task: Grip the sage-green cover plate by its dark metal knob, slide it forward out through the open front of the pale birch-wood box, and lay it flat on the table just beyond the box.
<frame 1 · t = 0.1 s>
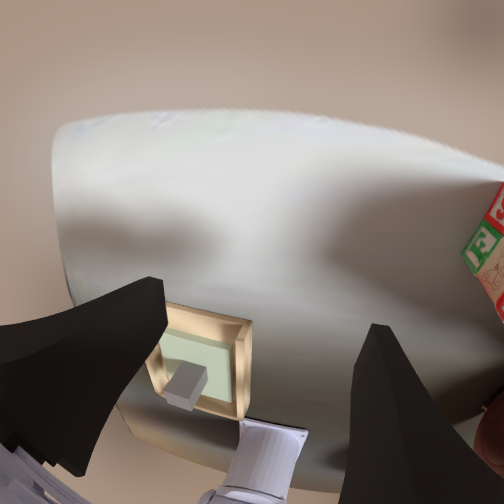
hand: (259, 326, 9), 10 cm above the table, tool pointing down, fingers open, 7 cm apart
cover plate: (198, 364, 26), point 1 cm above the table, touching box
box: (200, 356, 26), on the table
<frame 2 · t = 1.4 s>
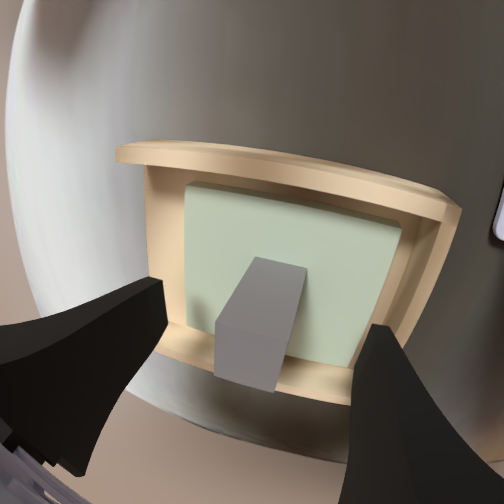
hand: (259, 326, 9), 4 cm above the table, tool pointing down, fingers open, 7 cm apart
cover plate: (280, 278, 12), point 1 cm above the table, touching box
box: (271, 268, 13), on the table
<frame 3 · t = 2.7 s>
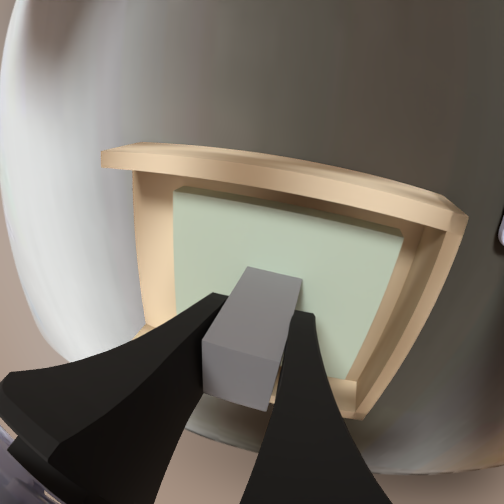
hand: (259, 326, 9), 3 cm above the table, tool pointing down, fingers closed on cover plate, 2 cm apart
cover plate: (274, 288, 11), point 1 cm above the table, touching box, gripper
box: (265, 277, 12), on the table
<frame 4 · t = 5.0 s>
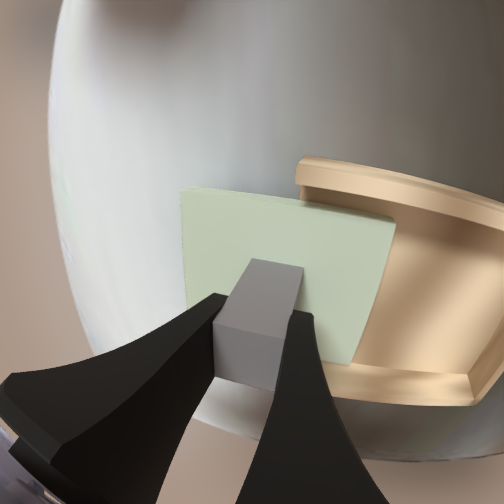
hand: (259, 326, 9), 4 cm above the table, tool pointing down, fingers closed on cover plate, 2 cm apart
cover plate: (278, 278, 12), point 1 cm above the table, touching gripper
box: (417, 292, 11), on the table
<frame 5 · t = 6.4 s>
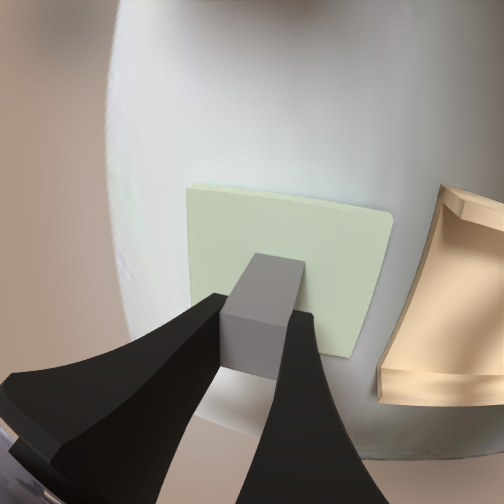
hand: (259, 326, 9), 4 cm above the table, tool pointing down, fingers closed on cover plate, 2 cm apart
cover plate: (280, 273, 13), on the table, touching gripper
box: (502, 307, 10), on the table
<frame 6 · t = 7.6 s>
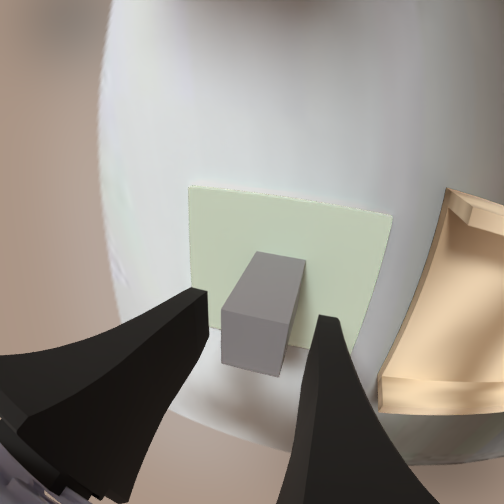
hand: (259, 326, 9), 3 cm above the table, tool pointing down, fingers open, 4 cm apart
cover plate: (281, 271, 13), on the table
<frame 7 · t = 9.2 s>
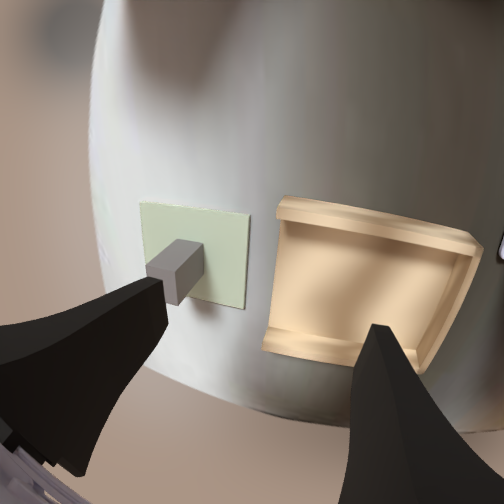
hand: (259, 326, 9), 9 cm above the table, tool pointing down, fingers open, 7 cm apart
cover plate: (195, 251, 21), on the table
box: (366, 285, 18), on the table
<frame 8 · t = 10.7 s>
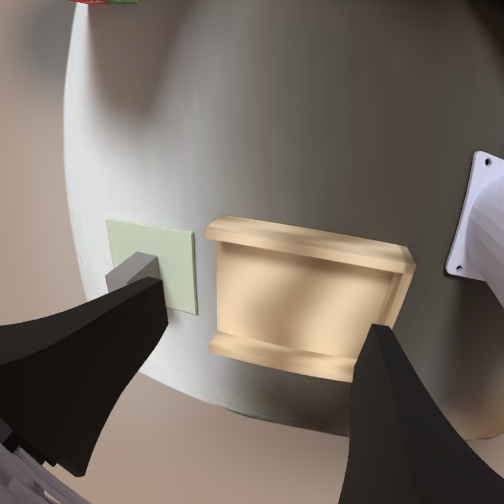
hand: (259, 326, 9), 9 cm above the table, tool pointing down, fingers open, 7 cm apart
cover plate: (153, 262, 23), on the table
box: (302, 297, 20), on the table
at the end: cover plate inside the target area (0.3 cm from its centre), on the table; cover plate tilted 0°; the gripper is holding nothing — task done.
